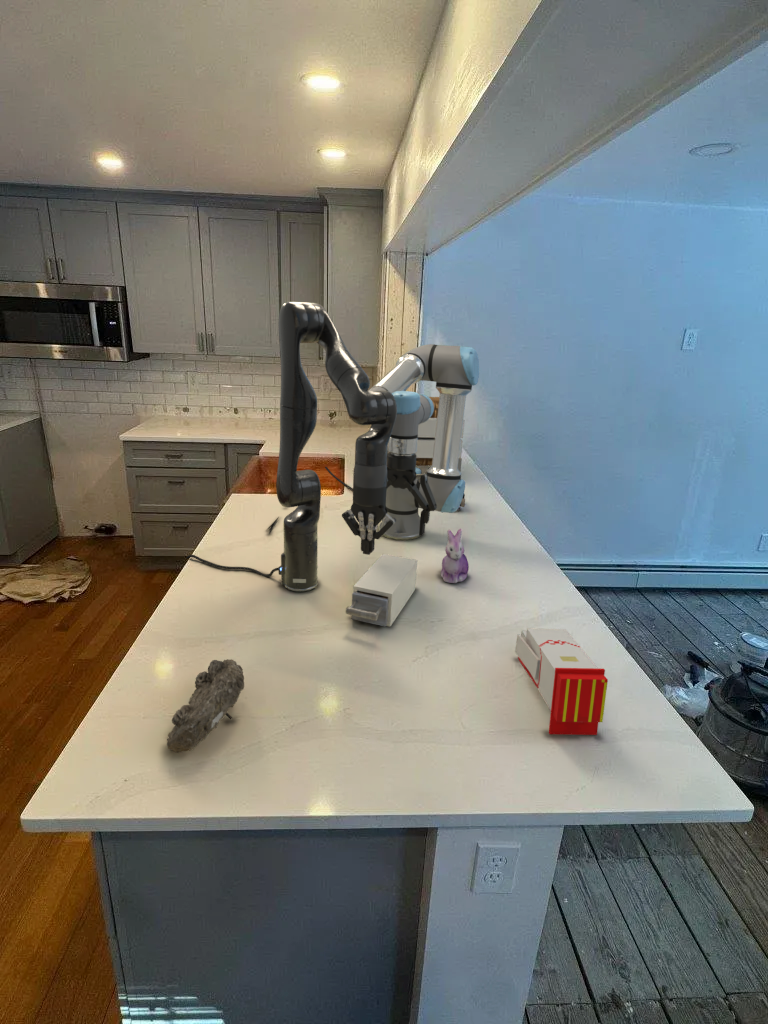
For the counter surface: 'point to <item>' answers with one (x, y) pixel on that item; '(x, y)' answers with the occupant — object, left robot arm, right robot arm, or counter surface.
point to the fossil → (206, 705)
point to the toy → (564, 680)
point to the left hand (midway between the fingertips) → (367, 553)
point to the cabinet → (390, 582)
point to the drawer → (369, 608)
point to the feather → (272, 525)
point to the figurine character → (462, 502)
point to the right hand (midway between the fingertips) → (397, 529)
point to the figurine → (454, 559)
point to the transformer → (430, 439)
